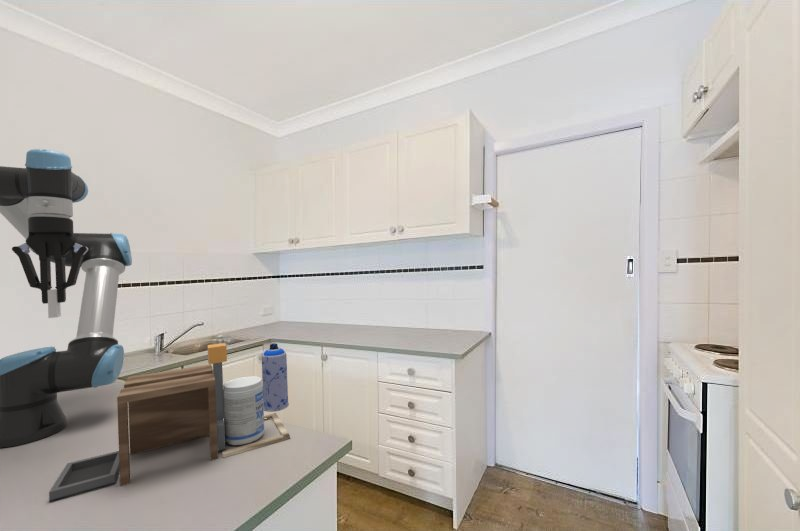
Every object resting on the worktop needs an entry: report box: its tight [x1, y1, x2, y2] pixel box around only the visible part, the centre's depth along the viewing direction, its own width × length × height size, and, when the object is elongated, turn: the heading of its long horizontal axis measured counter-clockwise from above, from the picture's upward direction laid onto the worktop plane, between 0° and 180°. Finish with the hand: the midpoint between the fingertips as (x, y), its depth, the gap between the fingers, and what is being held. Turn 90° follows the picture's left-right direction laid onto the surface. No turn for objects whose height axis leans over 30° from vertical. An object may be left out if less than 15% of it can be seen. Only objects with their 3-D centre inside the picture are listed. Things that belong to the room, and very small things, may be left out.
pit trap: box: [48, 450, 120, 503], centre depth 75 cm, size 12×10×2 cm
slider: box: [207, 342, 228, 452], centre depth 89 cm, size 12×4×24 cm, turn 32°
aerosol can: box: [261, 343, 290, 413], centre depth 111 cm, size 8×8×20 cm
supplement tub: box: [223, 375, 265, 446], centre depth 91 cm, size 10×10×15 cm
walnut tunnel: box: [116, 363, 219, 487], centre depth 83 cm, size 16×18×18 cm
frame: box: [221, 412, 291, 459], centre depth 93 cm, size 17×16×1 cm
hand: (54, 316), depth 82 cm, fingers closed
